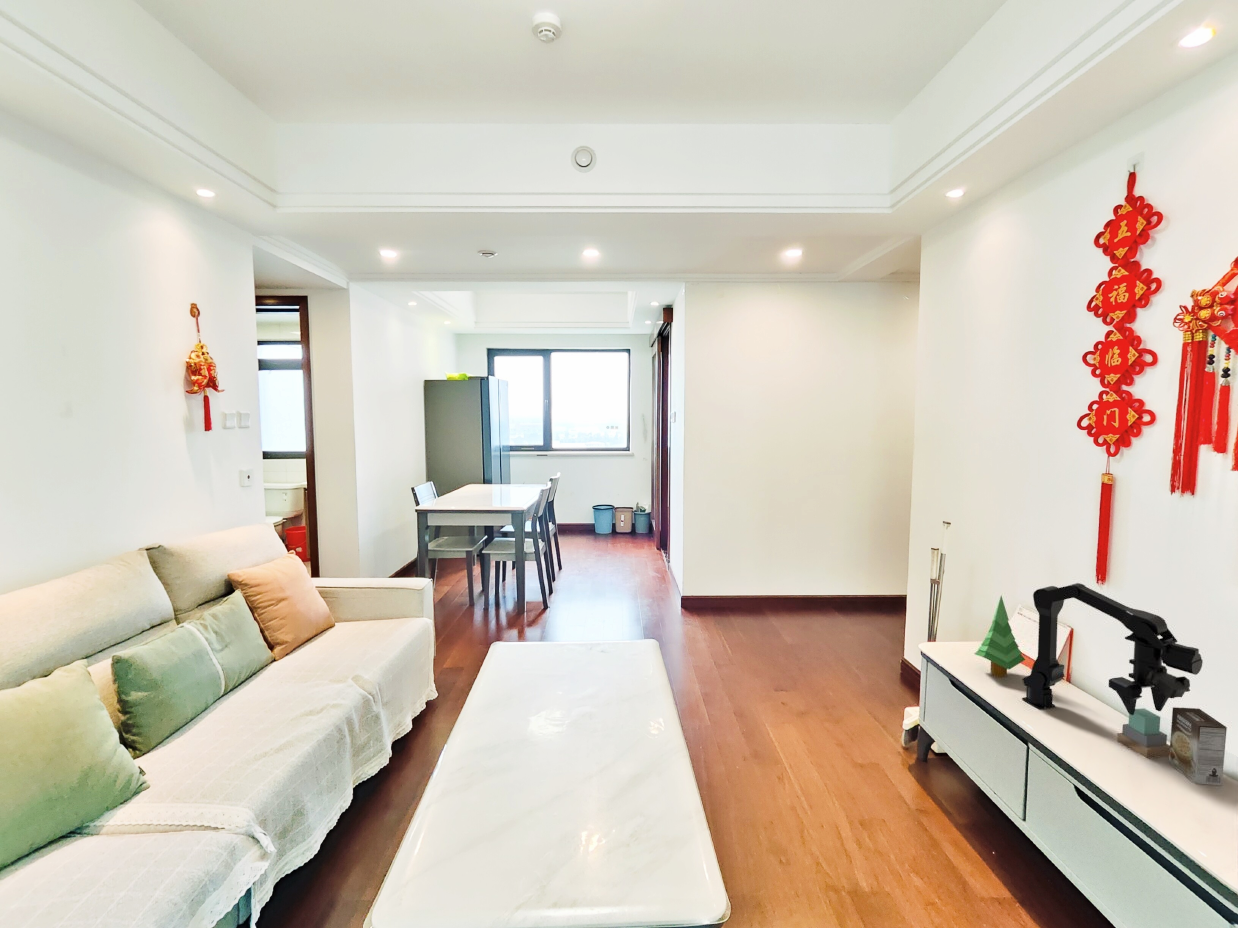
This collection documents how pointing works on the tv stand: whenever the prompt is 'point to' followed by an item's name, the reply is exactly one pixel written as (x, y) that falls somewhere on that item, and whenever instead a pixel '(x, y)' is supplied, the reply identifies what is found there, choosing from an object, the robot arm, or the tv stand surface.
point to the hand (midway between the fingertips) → (1144, 712)
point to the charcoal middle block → (1145, 737)
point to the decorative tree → (1000, 644)
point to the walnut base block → (1140, 749)
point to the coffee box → (1197, 745)
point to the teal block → (1144, 722)
